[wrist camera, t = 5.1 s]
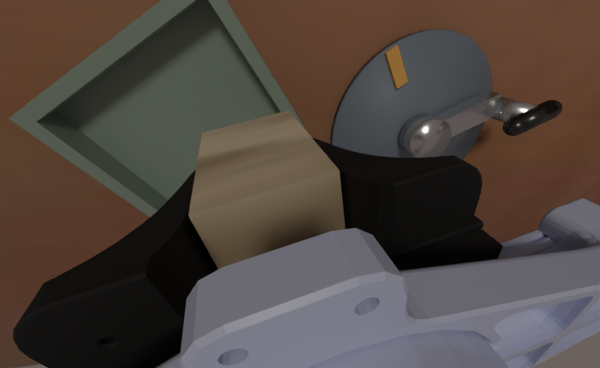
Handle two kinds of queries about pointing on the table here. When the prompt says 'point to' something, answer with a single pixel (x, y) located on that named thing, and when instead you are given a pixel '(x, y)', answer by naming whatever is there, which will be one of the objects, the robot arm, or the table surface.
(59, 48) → the table surface
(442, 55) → the crank base
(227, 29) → the tray
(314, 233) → the wooden block
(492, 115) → the crank
